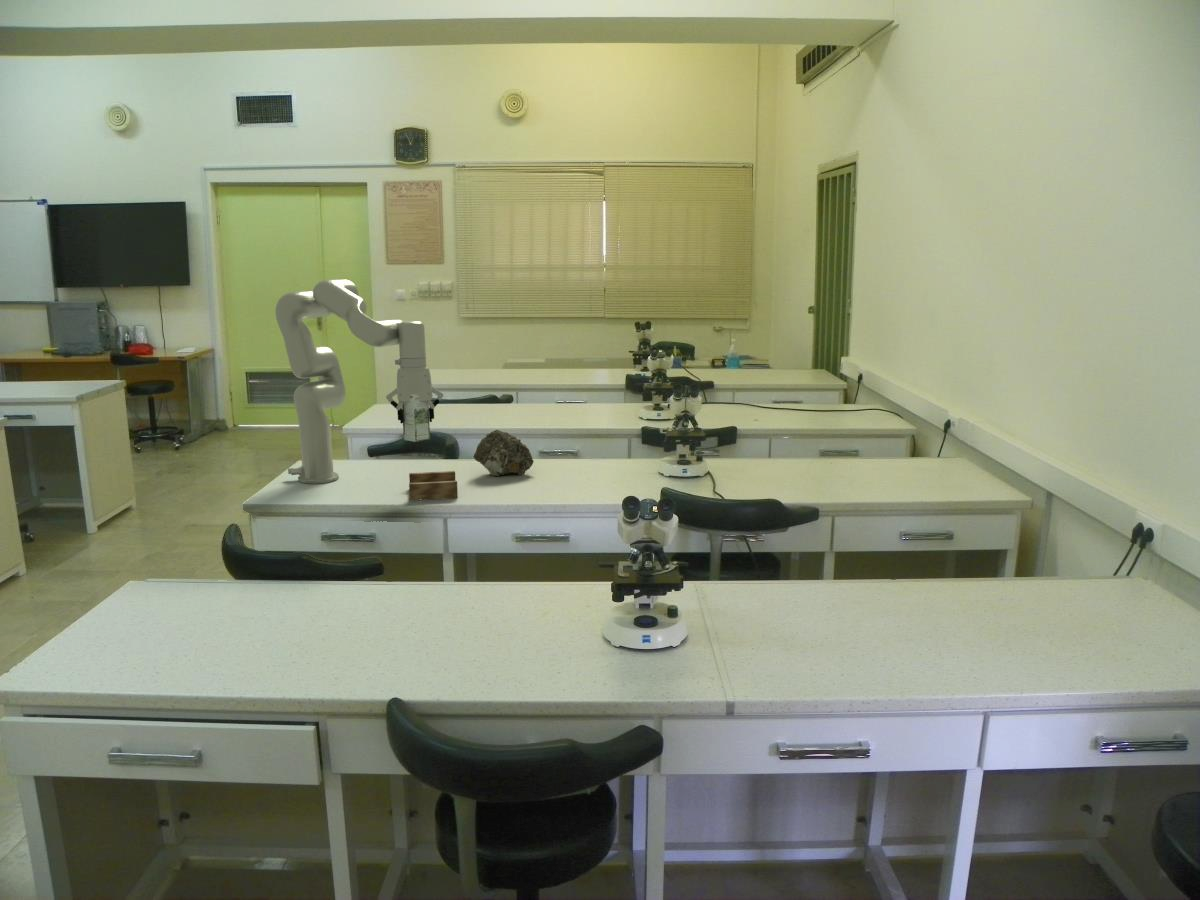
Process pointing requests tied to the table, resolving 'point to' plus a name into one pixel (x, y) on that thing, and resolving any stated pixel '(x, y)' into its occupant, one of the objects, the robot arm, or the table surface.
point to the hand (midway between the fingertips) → (416, 421)
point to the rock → (503, 454)
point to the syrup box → (416, 420)
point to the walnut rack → (432, 485)
